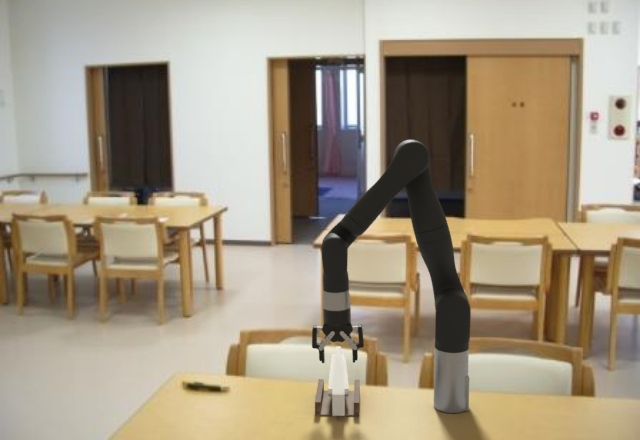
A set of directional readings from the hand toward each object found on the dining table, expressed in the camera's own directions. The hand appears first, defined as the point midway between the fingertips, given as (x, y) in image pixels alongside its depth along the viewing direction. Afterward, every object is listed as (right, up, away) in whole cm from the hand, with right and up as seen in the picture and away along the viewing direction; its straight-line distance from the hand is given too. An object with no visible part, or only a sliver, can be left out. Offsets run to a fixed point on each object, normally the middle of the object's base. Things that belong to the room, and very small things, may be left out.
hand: (338, 361), depth 200 cm
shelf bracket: (0, -12, +4) cm, 13 cm away
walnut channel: (0, -12, +3) cm, 13 cm away
